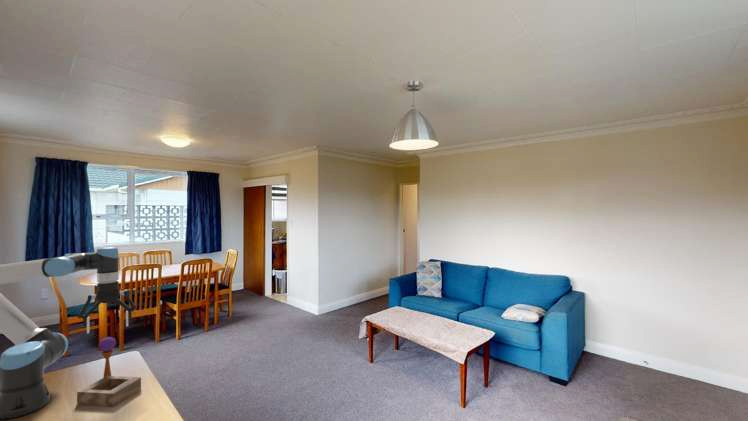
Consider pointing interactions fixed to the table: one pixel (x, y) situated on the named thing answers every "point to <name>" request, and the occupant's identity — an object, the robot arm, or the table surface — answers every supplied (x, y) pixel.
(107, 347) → the kendama
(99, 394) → the socket block
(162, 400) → the table surface
